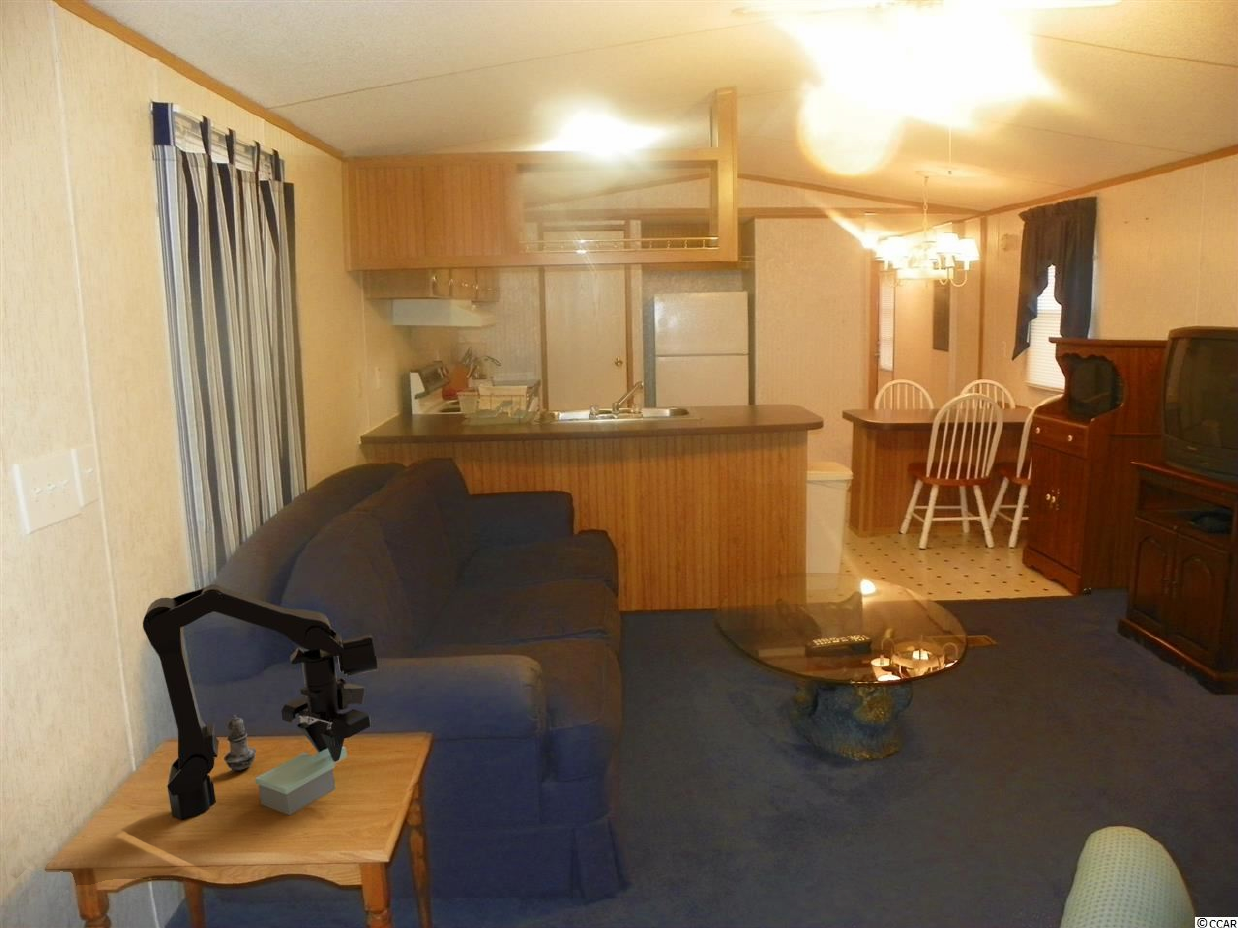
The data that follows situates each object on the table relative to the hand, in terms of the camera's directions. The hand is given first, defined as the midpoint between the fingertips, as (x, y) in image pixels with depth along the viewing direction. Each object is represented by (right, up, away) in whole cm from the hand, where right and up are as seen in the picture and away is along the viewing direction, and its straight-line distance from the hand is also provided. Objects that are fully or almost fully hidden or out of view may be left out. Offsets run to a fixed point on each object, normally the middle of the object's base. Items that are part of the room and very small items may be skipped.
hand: (330, 758), depth 172 cm
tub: (-4, -6, -6) cm, 9 cm away
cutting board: (-3, -1, -4) cm, 5 cm away
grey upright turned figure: (-20, -5, +7) cm, 21 cm away
